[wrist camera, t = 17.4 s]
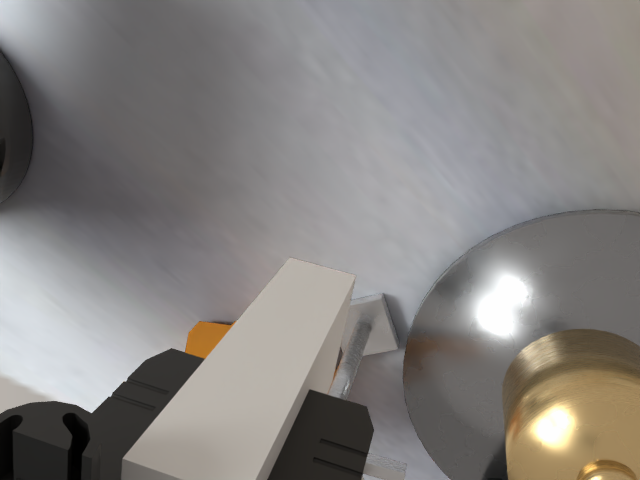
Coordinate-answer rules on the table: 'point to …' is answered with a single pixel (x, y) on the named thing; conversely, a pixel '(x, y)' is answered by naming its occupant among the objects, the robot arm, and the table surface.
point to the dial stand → (359, 340)
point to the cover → (573, 408)
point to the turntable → (512, 325)
